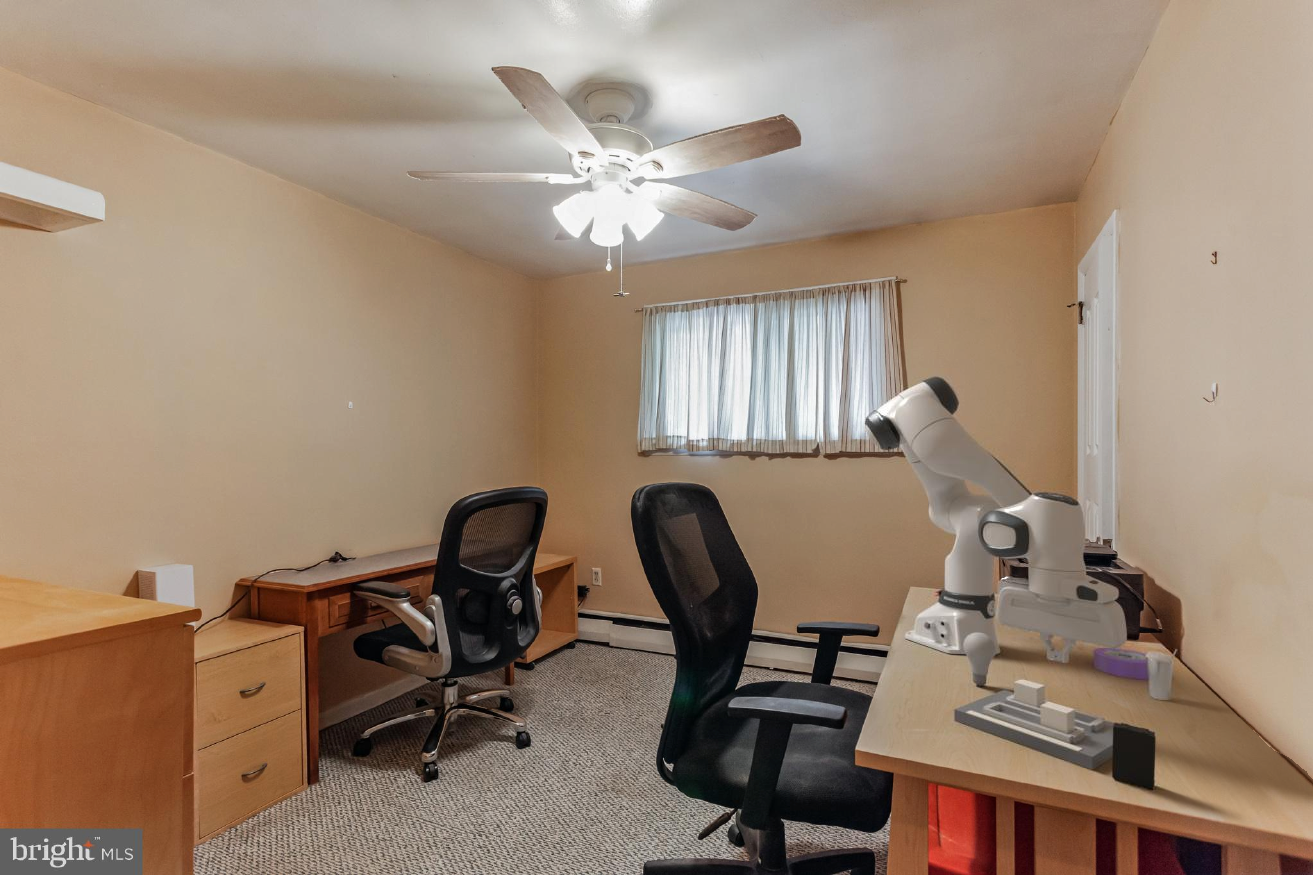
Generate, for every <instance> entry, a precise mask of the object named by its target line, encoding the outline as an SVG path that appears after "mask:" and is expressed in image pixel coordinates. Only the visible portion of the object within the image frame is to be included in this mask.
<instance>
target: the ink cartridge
mask: <svg viewBox="0 0 1313 875" xmlns="http://www.w3.org/2000/svg"><path fill="white" fill-rule="evenodd" d="M1113 723H1114V726H1113V756H1112V758H1111V759H1112V761H1111V762H1112V763H1111V777H1112V779H1114V780H1115V781H1117V782H1120V783H1123V784H1127V785H1131V786H1134V787H1137V788H1141V789H1145V790H1149V791H1154V790H1155V789H1154V788H1155V783H1156V781H1155V776H1156V775H1155V773H1156V745H1157V744H1156V741H1157V740H1156V738H1157V736H1156V732H1154V731H1151V730H1150V729H1149V728H1145V727H1138V726H1135V725H1131V724H1129V723H1123V722H1121V723H1119V722H1113Z"/></svg>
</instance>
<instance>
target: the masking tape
mask: <svg viewBox="0 0 1313 875" xmlns="http://www.w3.org/2000/svg"><path fill="white" fill-rule="evenodd" d="M1145 655H1146V653H1143V652H1140V651H1135V650H1130V649H1126V648H1125V649H1123V648H1110V647H1098V648H1095V649H1094V650H1093V667H1094V668H1095V669H1096V670H1099V671H1101V672H1103V673H1107V674H1109V675H1112V676H1116V677H1121V678H1127V679H1133V680H1134V679H1135V680H1148V673H1147V665H1146V657H1145Z"/></svg>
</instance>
